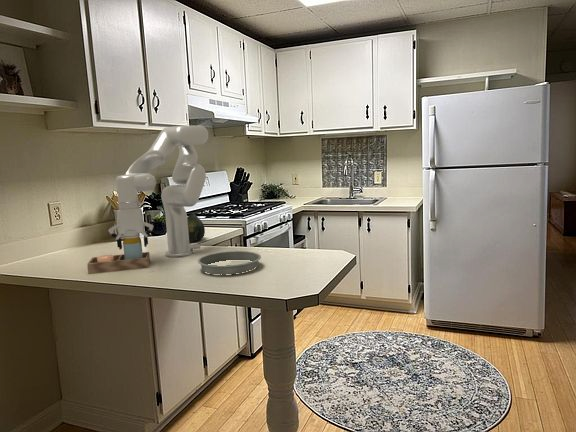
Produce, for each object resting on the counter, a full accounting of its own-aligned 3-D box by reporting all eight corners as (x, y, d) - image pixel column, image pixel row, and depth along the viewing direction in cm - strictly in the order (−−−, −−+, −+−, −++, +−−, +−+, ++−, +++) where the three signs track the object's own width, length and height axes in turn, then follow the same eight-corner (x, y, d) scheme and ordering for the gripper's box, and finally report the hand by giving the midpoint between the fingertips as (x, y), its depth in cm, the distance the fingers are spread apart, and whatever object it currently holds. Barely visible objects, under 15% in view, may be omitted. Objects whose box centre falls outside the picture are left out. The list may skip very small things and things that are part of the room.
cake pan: (245, 279, 159) (244, 267, 158) (186, 275, 167) (185, 264, 166) (271, 262, 181) (270, 251, 181) (218, 259, 190) (217, 249, 189)
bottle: (133, 268, 176) (129, 231, 174) (121, 266, 180) (118, 230, 178) (147, 264, 182) (143, 228, 180) (135, 262, 186) (132, 227, 184)
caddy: (150, 263, 188) (149, 251, 187) (148, 270, 177) (147, 257, 176) (93, 269, 183) (92, 257, 182) (88, 276, 172) (87, 263, 171)
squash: (168, 234, 224) (186, 211, 223) (175, 230, 239) (192, 208, 238) (190, 251, 225) (208, 229, 224) (196, 246, 240) (213, 225, 239)
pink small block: (115, 266, 182) (114, 254, 181) (113, 269, 176) (112, 257, 175) (99, 267, 180) (98, 255, 180) (97, 271, 175) (95, 259, 174)
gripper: (151, 203, 183) (155, 243, 186) (107, 206, 179) (111, 247, 182) (150, 205, 176) (155, 247, 179) (104, 208, 172) (109, 251, 174)
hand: (133, 247), depth 180 cm, fingers open, 9 cm apart
